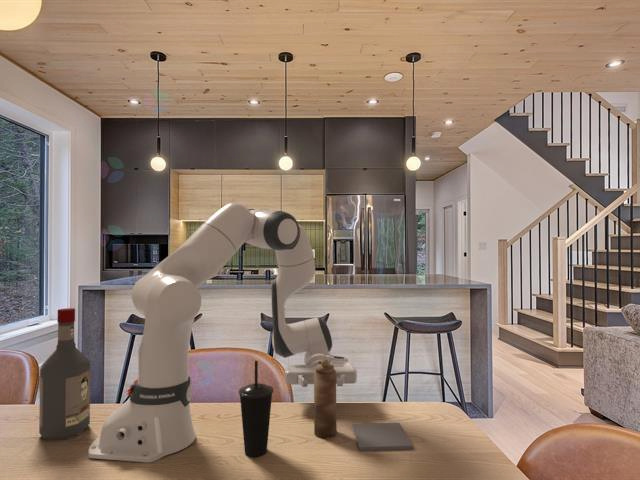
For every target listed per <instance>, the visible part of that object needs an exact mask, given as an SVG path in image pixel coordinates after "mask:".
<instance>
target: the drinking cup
mask: <svg viewBox="0 0 640 480" xmlns="http://www.w3.org/2000/svg"><path fill="white" fill-rule="evenodd" d="M258 363H259V362H258V360H254V382H253V383H249V384H247V385H244V386H242V387H240V388H239V389H238V395H239V398H240V411H241V412H240V413H241V422H242V435H243V436H242V437H243V445H244V446H243V448H244V454H245V456H247V457H250V458H260V457H263V456H264V455H265V454H266V453H267V452H268V442H269V432H270V431H269V430H270V420H271V419H270V418H271V410H272V409H271V408H272V399H273V398H272V396H273V393H274V388H273V386H271V385H269V384H265V383H262V382H259V381H258V380H259V377H258V376H259V375H258V374H259V373H258V371H259V370H258V369H259V367H258V366H259V364H258Z"/></svg>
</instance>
